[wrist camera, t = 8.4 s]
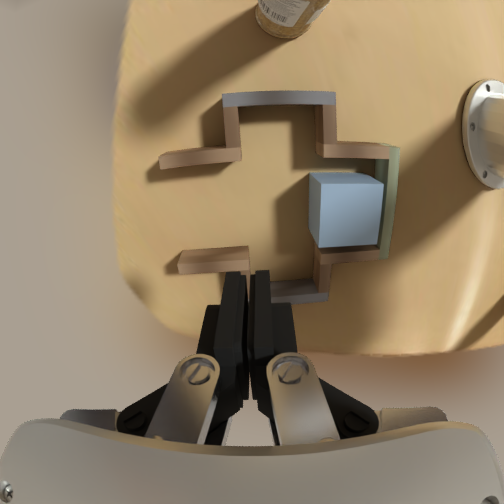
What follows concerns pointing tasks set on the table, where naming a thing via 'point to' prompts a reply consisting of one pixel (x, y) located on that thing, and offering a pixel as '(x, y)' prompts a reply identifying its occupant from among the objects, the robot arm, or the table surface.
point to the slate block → (344, 208)
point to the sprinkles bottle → (288, 16)
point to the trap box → (325, 147)
